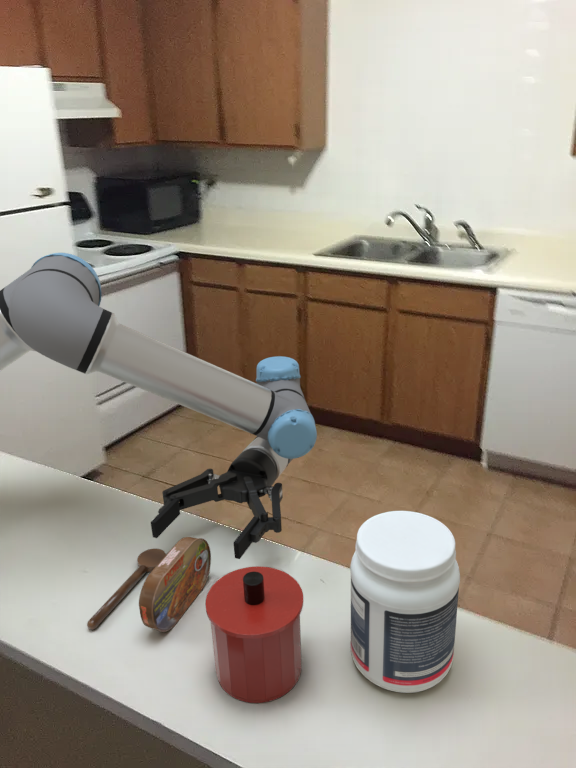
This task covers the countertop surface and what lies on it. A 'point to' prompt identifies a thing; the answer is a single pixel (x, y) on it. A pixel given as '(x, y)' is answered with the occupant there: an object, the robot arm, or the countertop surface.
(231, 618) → the pot lid
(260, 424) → the robot arm
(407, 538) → the supplement tub
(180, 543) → the tin
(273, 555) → the countertop surface
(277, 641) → the pot
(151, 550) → the spoon
